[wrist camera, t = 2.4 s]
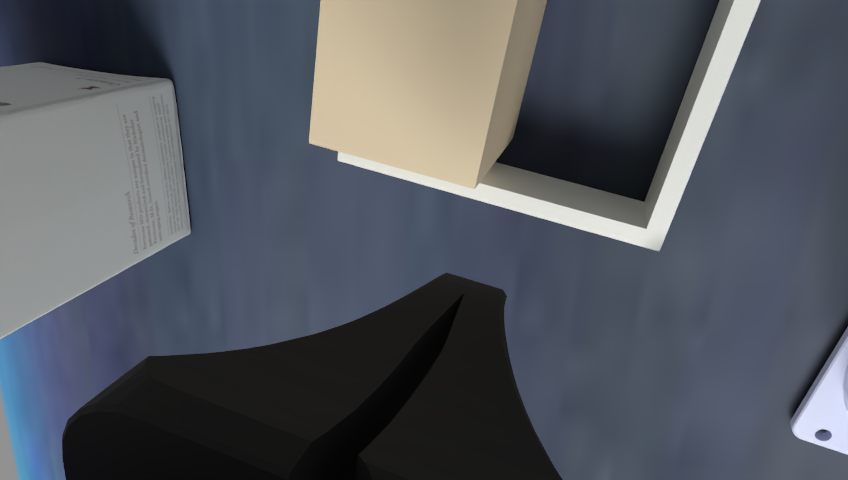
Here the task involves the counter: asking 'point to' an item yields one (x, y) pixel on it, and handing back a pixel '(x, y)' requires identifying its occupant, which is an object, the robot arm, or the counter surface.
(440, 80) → the kraft carton
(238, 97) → the counter surface
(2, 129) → the supplement box
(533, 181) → the tray
